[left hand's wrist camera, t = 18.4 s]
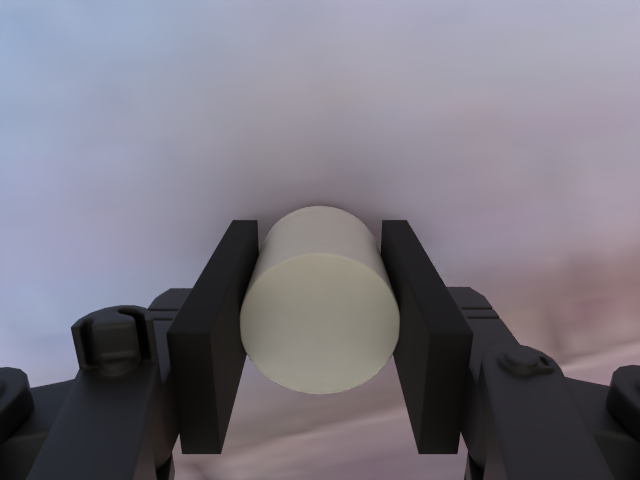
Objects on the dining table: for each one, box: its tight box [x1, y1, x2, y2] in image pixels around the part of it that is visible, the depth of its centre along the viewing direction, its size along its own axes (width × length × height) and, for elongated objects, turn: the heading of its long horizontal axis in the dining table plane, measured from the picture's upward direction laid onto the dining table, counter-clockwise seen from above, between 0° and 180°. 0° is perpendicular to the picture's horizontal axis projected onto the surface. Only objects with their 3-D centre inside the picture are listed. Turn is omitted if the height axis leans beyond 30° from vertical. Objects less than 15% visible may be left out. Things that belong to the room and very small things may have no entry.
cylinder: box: [240, 206, 400, 394], centre depth 13 cm, size 4×4×4 cm
